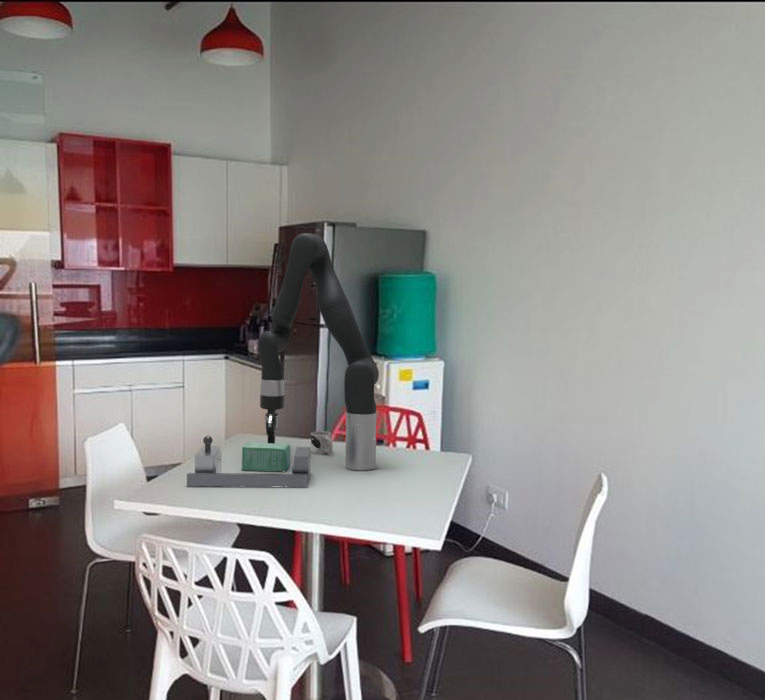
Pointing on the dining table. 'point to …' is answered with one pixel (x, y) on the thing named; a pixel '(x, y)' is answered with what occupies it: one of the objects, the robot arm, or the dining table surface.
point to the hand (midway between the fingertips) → (271, 446)
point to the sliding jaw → (208, 458)
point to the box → (266, 456)
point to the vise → (259, 475)
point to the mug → (321, 442)
